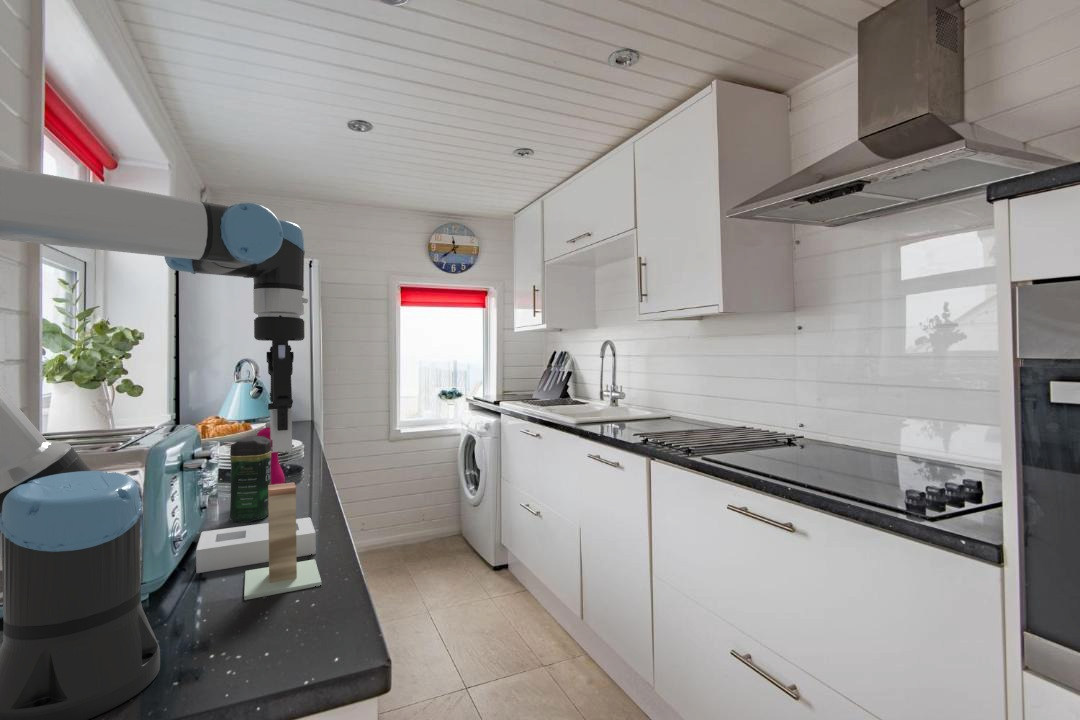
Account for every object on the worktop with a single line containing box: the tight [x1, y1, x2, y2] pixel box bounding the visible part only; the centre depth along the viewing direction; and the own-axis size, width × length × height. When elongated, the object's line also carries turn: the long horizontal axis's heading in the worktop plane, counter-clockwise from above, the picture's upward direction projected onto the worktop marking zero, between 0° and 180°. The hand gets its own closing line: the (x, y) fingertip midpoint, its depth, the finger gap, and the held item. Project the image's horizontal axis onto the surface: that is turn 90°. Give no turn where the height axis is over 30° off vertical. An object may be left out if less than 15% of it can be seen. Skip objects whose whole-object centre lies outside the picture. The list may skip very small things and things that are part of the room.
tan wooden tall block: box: [267, 482, 298, 583], centre depth 90 cm, size 4×4×15 cm
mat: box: [243, 559, 323, 601], centre depth 90 cm, size 11×11×1 cm
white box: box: [195, 517, 317, 574], centre depth 102 cm, size 11×19×4 cm, turn 118°
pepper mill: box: [256, 421, 286, 485], centre depth 142 cm, size 7×7×20 cm
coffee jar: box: [229, 435, 271, 523], centre depth 125 cm, size 10×8×19 cm
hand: (280, 445), depth 90 cm, fingers open, 13 cm apart
